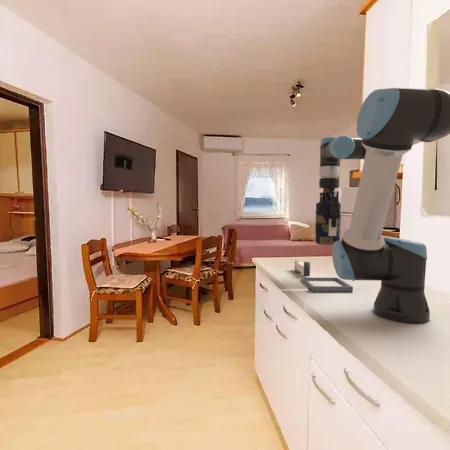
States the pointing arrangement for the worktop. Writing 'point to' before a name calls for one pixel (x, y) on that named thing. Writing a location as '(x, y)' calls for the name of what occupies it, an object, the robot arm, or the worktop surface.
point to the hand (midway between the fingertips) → (327, 234)
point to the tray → (328, 289)
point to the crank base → (295, 272)
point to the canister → (325, 224)
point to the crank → (302, 267)
